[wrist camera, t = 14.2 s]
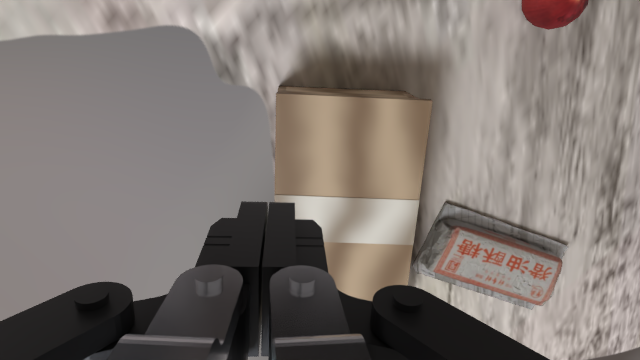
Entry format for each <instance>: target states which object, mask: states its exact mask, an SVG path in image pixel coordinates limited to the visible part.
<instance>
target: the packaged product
mask: <svg viewBox="0 0 640 360" xmlns="http://www.w3.org/2000/svg"><path fill="white" fill-rule="evenodd" d="M567 248H568V246H567V245H565V244H562V243H560V242H557V241H555V240H552V239H550V238H547V237H544V236H541V235H537V234H533V233H531V232H528V231H525V230H523V229H520V228H517V227H515V226H512V225H509V224H506V223H504V222H502V221H500V220H497V219H494V218H491V217H487V216H483V215H481V214H478V213H476V212H473V211H471V210H468V209H464V208H461V207H458V206H455V205H451V204H449V203H446V202H445V203H444V205H443V207H442V209H441V211H440V213H439V214H438V216H437V218H436V220H435V222H434V224H433V226H432V228H431V230H430V232H429V234H428V236H427V238H426V240H425V242H424V244H423V246H422V248H421V250H420V252H419V254H418V256H417V258H416V260H415V262H414V264H413V267H414V269H415V271H416V272H417V273H419V274H423V275H425V276H429V277H432V278H435V279H438V280H442V281H445V282H448V283H452V284H454V285H457V286H460V287H463V288H466V289H469V290H473V291H476V292H479V293H482V294H485V295H488V296H491V297H495V298H498V299H500V300H503V301H507V302H510V303H513V304H516V305H519V306H523V307H526V308H529V309H533V307H534V306H535V305H539V306H543V305H544V304H545V302H546V301H548V300H549V299H550V298H551V297H552V294H553V292H554V287H555V284H556V282H557V278H558V276H559V274H560V272H561V267H562V260H561V259H562V258H563V256H564V252H565V250H566V249H567Z"/></svg>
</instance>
